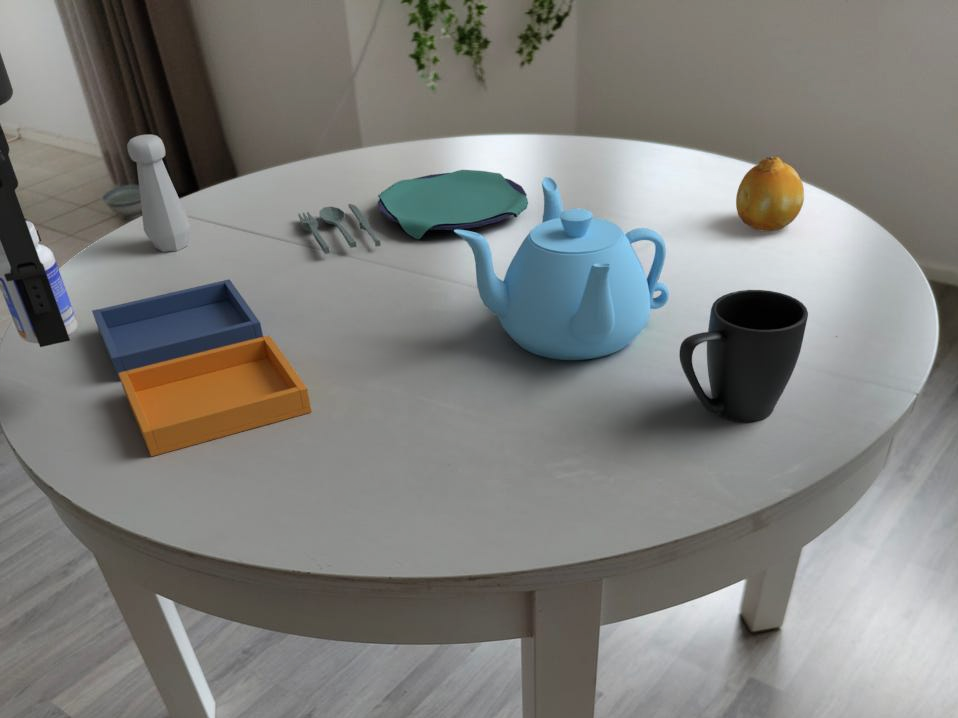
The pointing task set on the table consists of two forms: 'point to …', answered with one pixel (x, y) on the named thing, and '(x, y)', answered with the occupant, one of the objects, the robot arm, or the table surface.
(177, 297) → the tray slate
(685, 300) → the table surface
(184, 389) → the tray amber
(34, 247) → the robot arm
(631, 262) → the teapot
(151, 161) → the salt shaker
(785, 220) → the fruit
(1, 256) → the pill bottle
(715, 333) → the mug
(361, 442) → the table surface
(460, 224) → the cutlery set
